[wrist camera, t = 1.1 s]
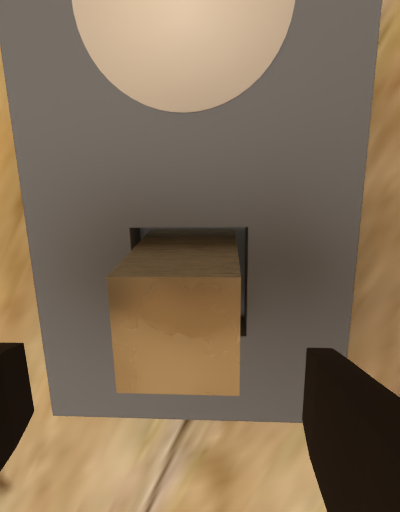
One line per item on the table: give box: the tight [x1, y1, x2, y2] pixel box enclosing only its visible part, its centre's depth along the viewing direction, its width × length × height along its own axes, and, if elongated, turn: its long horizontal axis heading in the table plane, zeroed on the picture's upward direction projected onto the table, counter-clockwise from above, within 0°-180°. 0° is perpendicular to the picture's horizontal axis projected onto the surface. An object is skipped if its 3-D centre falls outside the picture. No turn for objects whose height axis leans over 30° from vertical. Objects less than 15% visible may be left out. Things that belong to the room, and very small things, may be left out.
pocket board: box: [0, 0, 382, 423], centre depth 16 cm, size 14×24×3 cm, turn 1°
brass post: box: [106, 229, 241, 396], centre depth 15 cm, size 4×4×7 cm
